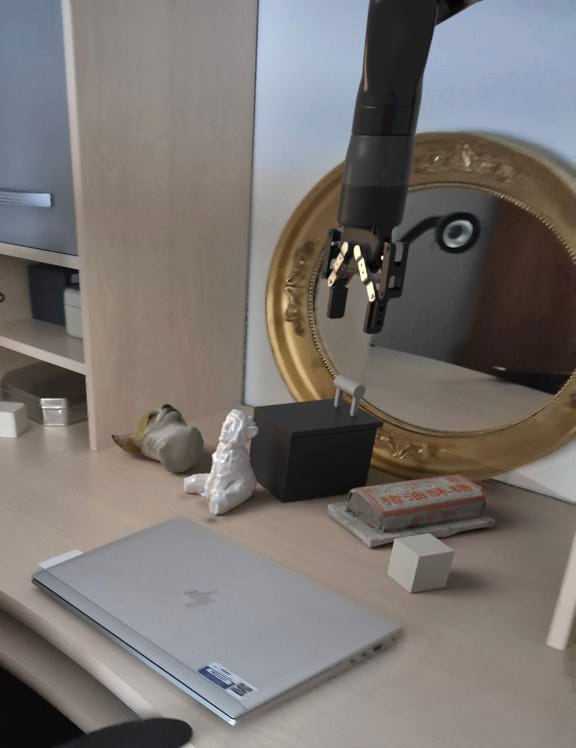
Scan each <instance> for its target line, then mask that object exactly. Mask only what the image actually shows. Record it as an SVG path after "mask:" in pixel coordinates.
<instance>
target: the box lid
mask: <svg viewBox="0 0 576 748" xmlns="http://www.w3.org/2000/svg"><path fill="white" fill-rule="evenodd" d="M333 386H334V387H335V388H336V390H335V395H334V396H335V397H334V398H323V399H314V400H305V401H296V402H295V401H294V402H285V403H277V404H268V405H267V404H266V405H256V406H254V407H253V414H254V413H255V414H257V415H258V416H260V417H261V418H263V419H264V420H266V421H267V422H268V423H270V424H271V425H273V426H274V427H276V428H277V429H278V430H280V431H281V432H283V433H284V434H286V435H287V436H289V437H290V438H297V437H306V436H314V435H323V434H331V433H339V432H348V431H356V430H365V429H373V428H377V429H380V428H383V427H384V420H381V418H380V419H379V418H378V417H376V416H374V415H373V414H370V413H369V412H367V411H366V410H364V409H362V408H360V407H359V406H360V401H361V398H363V397H364V396H365V394H366V391H367V389H366V387H365V385H364V384H362V383H360V382H358V381H356V380H354V379H353V378H350V377H348V376H346V375H344V374H341V373H340V374H338V375H336V376H335V378H334V380H333ZM344 393H346V394H347V395H349V396H351V397H352V399H351V402H349V401H348V400H346V399H344V398H343V397H344Z"/></svg>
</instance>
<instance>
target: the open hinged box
mask: <svg viewBox="0 0 576 748" xmlns="http://www.w3.org/2000/svg"><path fill="white" fill-rule="evenodd" d="M252 419H253V422H255V423H256V424H255V427H258V434H257V435H255V437H253V438H251V439H250V444H249V452H248V454H249V456H250V463H251V467H252V468H253V472H254V473H255V477H256V480H257V484H260V486H262V487H263V488H264V489H265V490H266V491H268V492H269V493H270V494H271V495H272V496H273V497H275V498H276V499H277V500H278V501H280V502H281V503H282V504H285V503H291V502H298V501H304V500H311V499H318V498H326V497H327V498H328V497H333V496H341V495H348V493H349V491H351V490H352V489H355V488H359V487H366V486H367V484H368V478H369V474H370V468H371V464H372V458H373V457H372V456H373V452H374V447H375V441H376V437H377V432H378V428H373V429H365V430H356V431H348V432H339V433H331V434H323V435H314V436H306V437H297V438H290V437H289V436H287V435H286V434H284V433H283V432H281V431H280V430H278V429H277V428H276V427H274V426H273V425H271V424H270V423H268V422H267V421H266V420H264V419H263V418H261V417H260V416H258V415H257V414H255V413H254V412H253V415H252Z"/></svg>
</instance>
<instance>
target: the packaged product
mask: <svg viewBox="0 0 576 748" xmlns="http://www.w3.org/2000/svg"><path fill="white" fill-rule="evenodd" d="M486 496H487V493H486V492H485V490H484V489H483V487H482V486H481V485H480V484H477V483H476V482H473V481H471V480H470V479H469V478H467V477H465V476H463V475H461V474H457V473H456V474H447V475H439V476H432V477H423V478H417V479H410V480H402V481H396V482H395V481H394V482H388V483H381V484H375V485H374V484H373V485H366V487H359V488H355V489H352V490H351V491H349V493H348V494H347V501H344V502H343V501H342V502H337V503H336V502H335V503H329V504H327V515H328V516H329V517H330V518H331V519H333V520H334V521H336V522H337V523H338V524H340V525H341V526H343V527H344V528H345V529H346V530H348V531H349V532H350V533H352V534H353V535H355V536H356V537H357V538H358V539H359V540H360V541H362V542H363V543H364V544H365V545H366V546H367V547H368V548H374V547H378V546H381V545H382V546H383V545H386V544H389V543H390V544H391V543H394V539H395V538H402V537H408V536H414V535H421V534H427V533H430V534H431V535H433V536H434V537H436V538H447V537H450V536H453V535H454V534H457V533H460V532H467V531H470V530H475V529H482V528H491V527H493V526H495V524H496V520H495V519H494V518H492V517H490V516H488V515H487V514H485V513H483V512H484V511H485V510H486V508H487V505H488V504H487V500H486Z"/></svg>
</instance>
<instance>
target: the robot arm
mask: <svg viewBox="0 0 576 748" xmlns="http://www.w3.org/2000/svg"><path fill="white" fill-rule="evenodd" d="M482 1H483V2H484V0H368V7H367V17H366V27H365V37H364V46H363V47H364V49H363V57H362V71H361V78H360V81H359V84H358V88H357V92H356V96H355V97H356V98H355V103H354V110H353V117H352V123H351V131H350V132H351V134H350V139H349V142H348V146H347V150H346V154H345V158H344V159H345V160H344V165H343V173H342V179H341V186H340V187H341V189H340V192H339V193H340V194H339V202H338V208H337V216H336V222H337V224H339V225H340V226H343V227H333V228H328V231H327V234H326V241H325V246H324V247H325V248H324V254H323V259H322V264H321V270H320V278H321V279H322V280H326V281H327V286H328V287H329V293H328V301H327V310H326V317H327V318H328V319H330V320H338V319H343V318H344V316H345V314H346V306H347V300H348V294H349V287H347V286H348V285H349V284H350V282H351V280H352V279H353V277H354V276H355V275H356V276H359V277H360V281H361V283H362V284H363V285H364V286H365V287H366V291H367V297H368V300H367V302H366V303H367V305H366V308H365V309H366V310H365V316H364V322H363V329H362V332H363V333H365V334H366V335H376V334H380V333H381V332H382V331H383V327H384V324H385V319H386V313H387V309H388V308H387V307H388V303H389V302H390V301H391V300H393V299H399V298H401V297H402V295H403V291H404V283H405V277H406V271H407V270H406V269H407V264H408V258H409V251H410V244H409V242H408V241H399V242H393V231H394V229H396V228H398V227H400V225H402V223H403V221H404V215H405V210H406V204H407V198H408V193H409V188H410V187H409V186H410V180H411V176H412V170H413V164H414V159H415V143H416V142H415V141H416V133H417V129H418V123H419V119H420V111H421V106H422V99H423V91H424V90H423V89H424V76H425V72H426V67H427V64H428V60H429V55H430V51H431V46H432V42H433V38H434V34H435V29H436V27H438V25H440V24H442V23H444V22H446V21H447V20H449V19H451V18H453V17H454V16H456V15H458V14H459V13H462V12H463V11H464V10H466V9H467V8H469V7H471V6H473V5H475V4H477V3H480V2H482ZM333 260H334V262H333V264H332V261H333ZM331 265H332V266H331ZM331 267H332V268H331ZM379 271H380V272H379ZM392 277H394V281H393V286H392V285H391V279H392ZM377 284H379V286H378V288H377Z"/></svg>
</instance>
